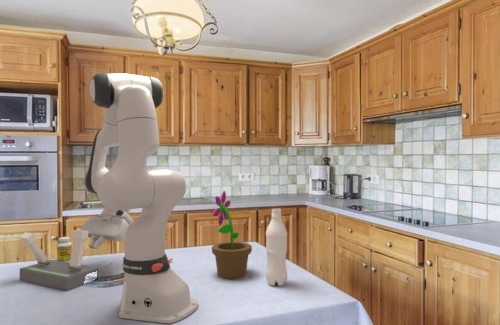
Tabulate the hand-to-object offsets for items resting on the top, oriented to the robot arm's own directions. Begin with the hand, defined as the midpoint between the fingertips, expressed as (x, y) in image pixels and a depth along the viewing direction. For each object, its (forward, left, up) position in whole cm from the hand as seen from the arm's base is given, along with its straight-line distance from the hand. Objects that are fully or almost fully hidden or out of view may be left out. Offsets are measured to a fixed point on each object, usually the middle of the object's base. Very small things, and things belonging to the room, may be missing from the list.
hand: (92, 247), depth 127 cm
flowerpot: (-44, -23, -10) cm, 51 cm away
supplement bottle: (+26, -9, -10) cm, 29 cm away
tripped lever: (0, +7, -5) cm, 9 cm away
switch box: (+8, +7, -10) cm, 15 cm away
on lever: (+16, +7, -5) cm, 18 cm away
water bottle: (-62, -21, -10) cm, 66 cm away
